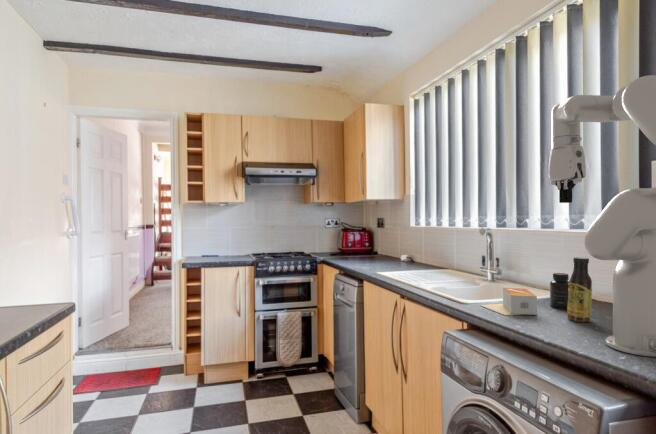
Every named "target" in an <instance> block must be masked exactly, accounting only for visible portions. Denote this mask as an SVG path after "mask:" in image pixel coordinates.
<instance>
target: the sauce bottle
mask: <svg viewBox="0 0 656 434" xmlns="http://www.w3.org/2000/svg"><path fill="white" fill-rule="evenodd" d="M572 261H573V270H572V274H571V276H570V279H569V280H568V281H569V283H568V306H567V309H566V310H567V311H566V313H567V319H569V320H570V321H573V322H577V323H588V322H589V323H590V321H591V317H592V316H591V315H592V296H593V293H592V291H593V288H592V287H593V285H592V284H593V283H592V277H591V276H590V274H589V262H590V258H588V257H584V256H582V257H581V256H574V257H573V259H572Z"/></svg>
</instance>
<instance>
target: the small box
mask: <svg viewBox="0 0 656 434" xmlns="http://www.w3.org/2000/svg"><path fill="white" fill-rule="evenodd" d="M537 298H538V296H537V295H535V294H534V293H533V292H531V291H530V290H528V289H527V288H514V287H503V288H502V304H503V305H504V306H505V307H506V308H507V310H508V311H509V312H510V313H511V314H525V315H528V316H529V315H531V316H537V315H538V308H537V307H538V302H537Z"/></svg>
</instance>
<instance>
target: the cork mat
mask: <svg viewBox="0 0 656 434" xmlns="http://www.w3.org/2000/svg"><path fill="white" fill-rule="evenodd" d="M479 306H480V307H482V308H484V307H485V308H484V309H487V310H489V311H493V312H494V313H497V314H500V315H502V316H504V317H506V316H507V317H508V316H521V315H526V314H511V313H510V312H509V311H508V310H507V308H506V307H505V306H504V305H503V303H491V304H490V303H489V304H480V305H479Z"/></svg>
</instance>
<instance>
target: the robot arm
mask: <svg viewBox="0 0 656 434" xmlns="http://www.w3.org/2000/svg"><path fill="white" fill-rule="evenodd" d="M630 120H632V122H633V123H634V124H635V125H636V127H637V128H638V129H639V130H640V131H641V132H642V133H643V135H644V136H645V137H646V138H647V139H648V140H649V141H650V142H651V143H652V144H653V145H655V146H656V75H652V74H651V75H644V76H641V77H638V78H636V79H634V80H633V81H631V82H630V83H629V84H628V85H625V86H622V87H621V88H620V89H619V90H617V92H616V93H615V94H613V95H601V94H600V95H597V94H576V95H573V96H570V97H568V98H567V99H566V100H565V101H563V102H561V103H558V104H555V105H554V106H553V107H552V109H551V149H550V154H549V162H548V178H549V180H550V184H551V185H553V186H555V187H557V190H558V191H559V196H558V197H559V198H558V199H559V203H560V204H564V203H565V204H568V203H572V202H573V190H574V189H575V186H576V185H577V184H579V183H582V181H583V179H584V178H585V177H586V175H587V170H586V169H587V168H586V167H587V166H586V158H585V157H586V155H585V151H584V148H583V147H584V146H583V145H581V141H582V140H583V139H582V137H581V123H611V122H612V123H613V122H614V123H615V122H624V121H625V122H626V121H630ZM584 246H585V250H586V252H587V253H588V254H589V255H590V256H591V257H592V258H594V259H597V260H600V261H618V263H616V266H615V269H614V270H613V277H612V335H609V336H607V337H606V338H604V339H605V344H606V345H607V346H608V347H610V348H612V349H614V350H616V351H620V352H623V353H627V354H631V355H635V356H637V355H638V356H642V357H653V358H654V357H656V186H654V187H647V188H646V187H644V188H643V187H642V188H638V187H637V188H629V189H625V190H623V191H621V192H619V193H618V194H616V195H615V196H614V197H612V199H610V201H608V203H607V204H606V205H605V207H604V208H603V209H602V211H601V212H600V213H599V214H598V215H597V217H596V218H595V220H594V221H593V222H592V223H591V225H590V226H589V227H588V229H587V231H586V234H585V236H584Z"/></svg>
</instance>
